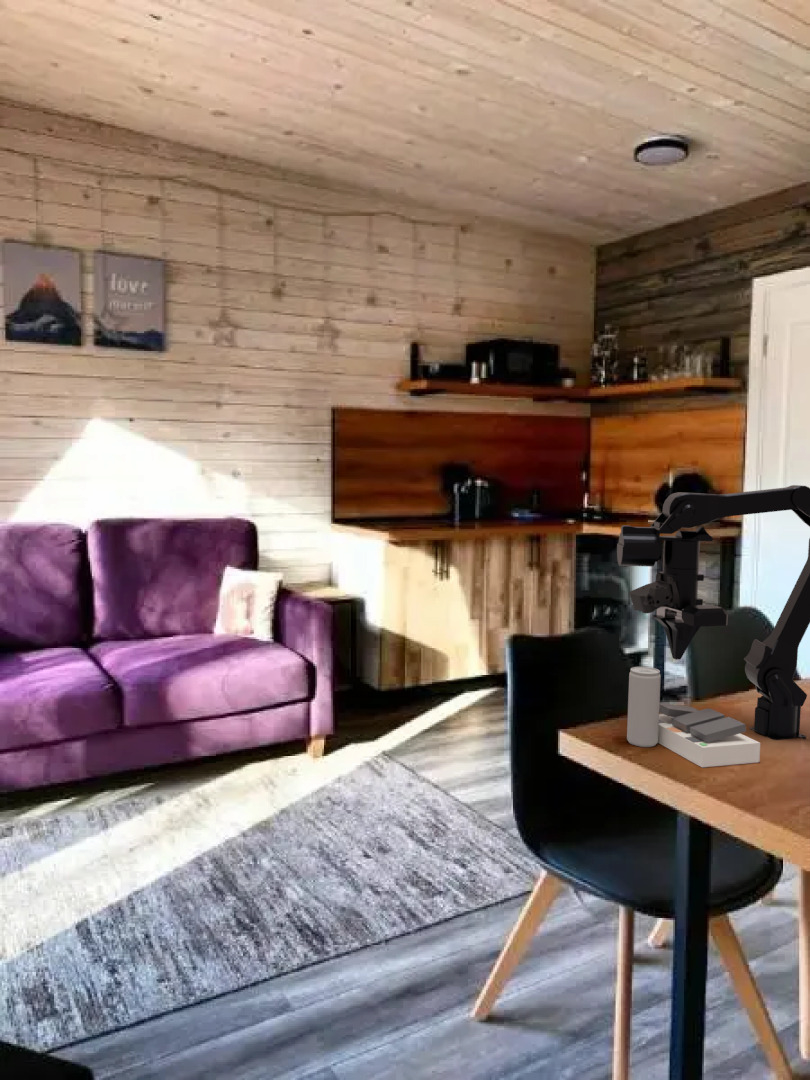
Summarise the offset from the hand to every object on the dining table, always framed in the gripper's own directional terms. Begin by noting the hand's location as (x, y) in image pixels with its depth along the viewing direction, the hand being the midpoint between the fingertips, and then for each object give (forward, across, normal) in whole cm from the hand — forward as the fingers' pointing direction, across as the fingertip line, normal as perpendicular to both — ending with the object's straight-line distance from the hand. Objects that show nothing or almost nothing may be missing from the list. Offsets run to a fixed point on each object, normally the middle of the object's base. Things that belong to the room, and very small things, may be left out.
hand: (676, 659), depth 145 cm
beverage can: (+12, +6, -10) cm, 17 cm away
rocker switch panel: (+12, +10, -2) cm, 15 cm away
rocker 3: (+8, +14, -2) cm, 16 cm away
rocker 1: (+8, +4, -2) cm, 9 cm away
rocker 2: (+8, +10, -2) cm, 12 cm away
